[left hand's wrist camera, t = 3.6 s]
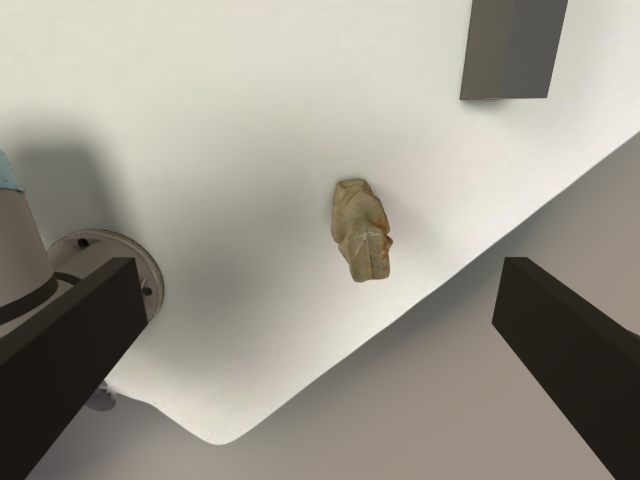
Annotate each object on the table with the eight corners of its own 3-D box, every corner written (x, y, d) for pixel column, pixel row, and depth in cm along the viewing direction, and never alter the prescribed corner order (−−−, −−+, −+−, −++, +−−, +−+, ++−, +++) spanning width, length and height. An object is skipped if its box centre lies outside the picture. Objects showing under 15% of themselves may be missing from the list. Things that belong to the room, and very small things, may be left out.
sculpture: (331, 233, 45) (336, 290, 31) (326, 177, 42) (330, 212, 28) (376, 229, 45) (402, 285, 31) (375, 173, 42) (402, 206, 28)
